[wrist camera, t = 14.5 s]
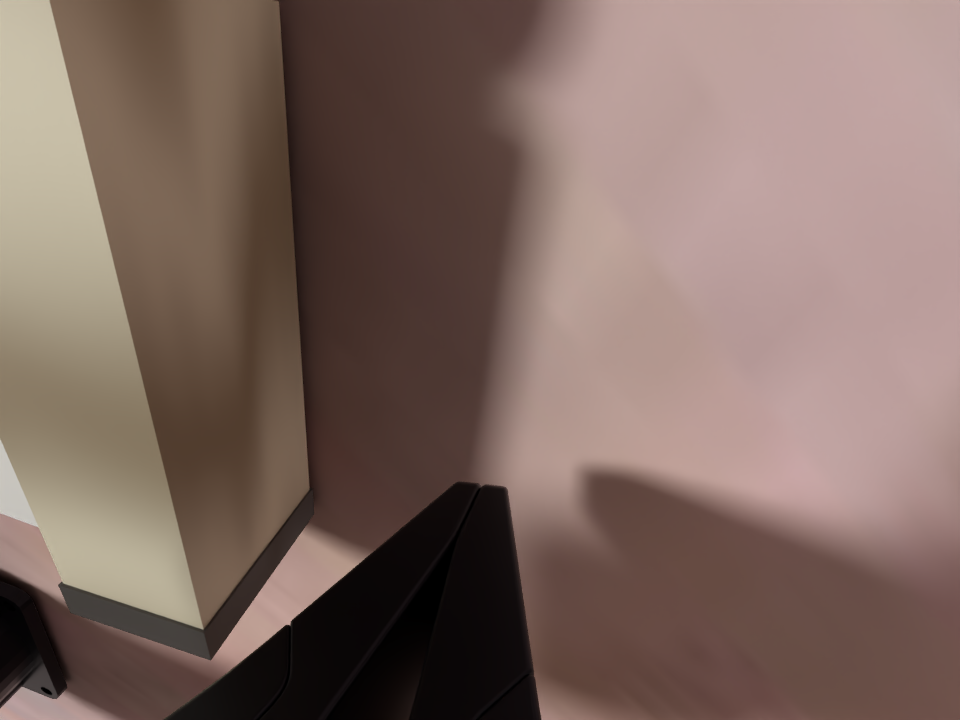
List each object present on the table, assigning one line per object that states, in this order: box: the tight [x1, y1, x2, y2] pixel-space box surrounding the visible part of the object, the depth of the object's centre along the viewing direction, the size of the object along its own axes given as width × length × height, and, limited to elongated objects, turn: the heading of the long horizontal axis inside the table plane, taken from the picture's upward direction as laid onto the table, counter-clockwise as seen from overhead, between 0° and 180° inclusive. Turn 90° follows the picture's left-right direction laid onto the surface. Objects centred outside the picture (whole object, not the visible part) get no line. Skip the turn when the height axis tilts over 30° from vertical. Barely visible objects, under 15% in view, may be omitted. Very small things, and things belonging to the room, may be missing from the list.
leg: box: [0, 0, 314, 660], centre depth 8 cm, size 13×3×4 cm, turn 173°
